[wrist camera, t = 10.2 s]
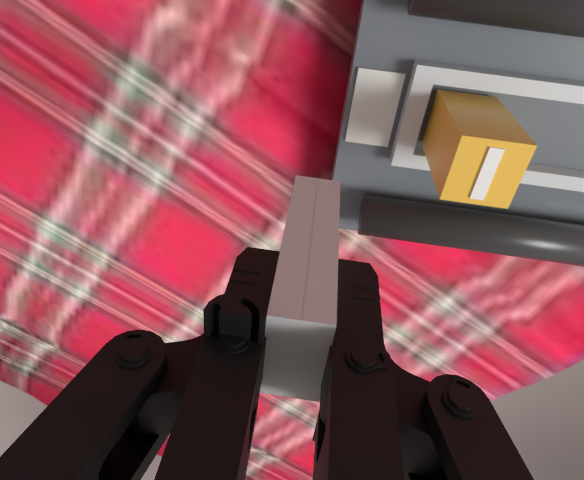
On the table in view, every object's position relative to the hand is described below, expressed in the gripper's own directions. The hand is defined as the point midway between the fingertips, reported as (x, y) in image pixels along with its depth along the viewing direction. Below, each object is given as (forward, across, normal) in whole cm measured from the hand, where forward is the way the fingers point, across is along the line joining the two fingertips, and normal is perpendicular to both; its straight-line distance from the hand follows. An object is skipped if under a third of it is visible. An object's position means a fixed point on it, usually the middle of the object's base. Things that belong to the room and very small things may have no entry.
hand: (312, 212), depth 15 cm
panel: (+13, +12, 0) cm, 18 cm away
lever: (+10, +7, 0) cm, 13 cm away
